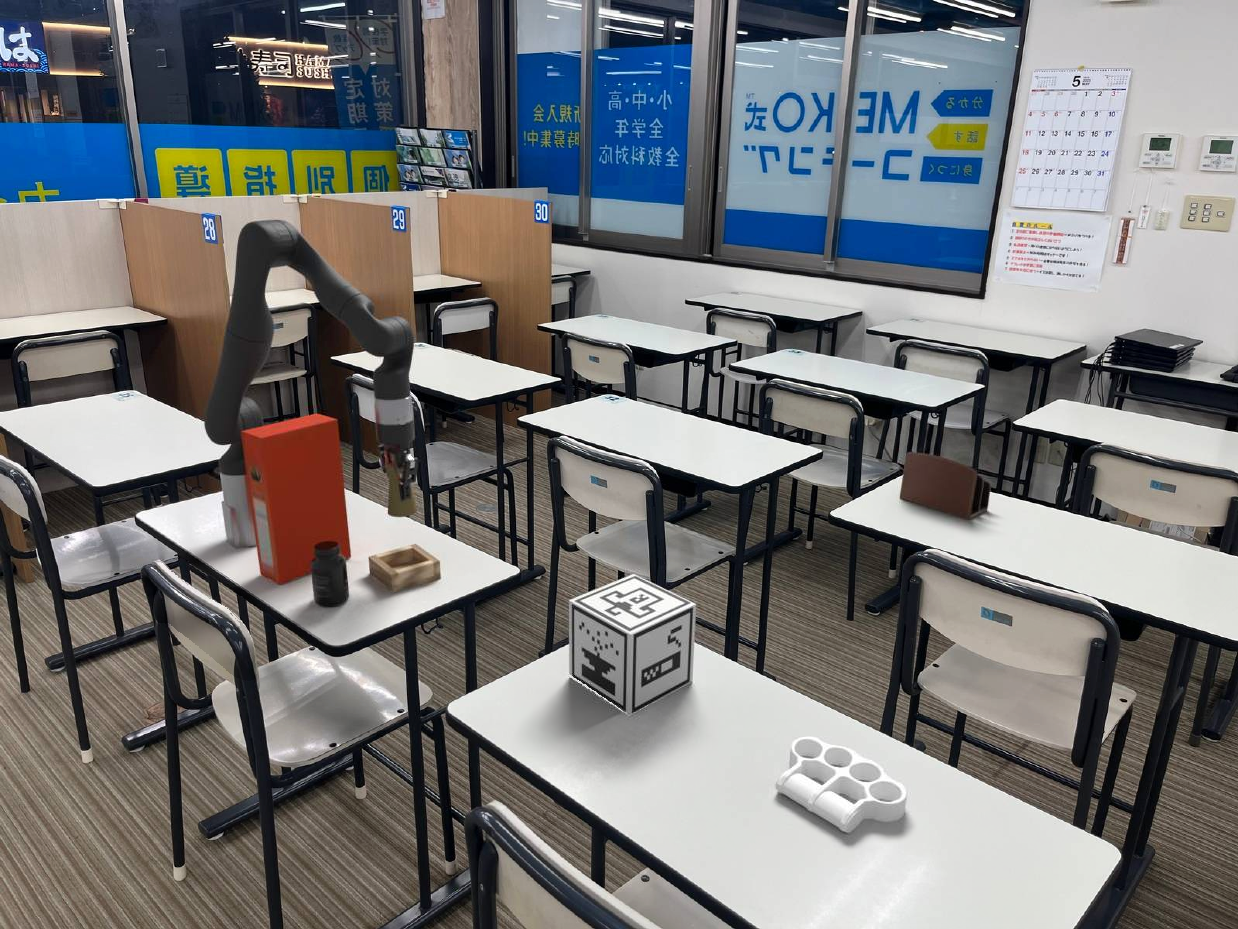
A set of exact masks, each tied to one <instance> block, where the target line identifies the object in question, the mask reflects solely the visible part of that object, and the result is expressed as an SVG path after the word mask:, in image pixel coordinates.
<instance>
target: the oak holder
mask: <svg viewBox="0 0 1238 929" xmlns="http://www.w3.org/2000/svg"><path fill="white" fill-rule="evenodd" d="M367 558H368V568H369V574H370V575H371V576H372V577H373V578H374V579H376V580H377V581H378V582H379V583H380V584H381V585H383V586H384V587H385V588H386V589H387V590H389V591H390V592H391V593H396V592H400V591H403V590H406V589H410V588H412V587H415V586H419V585H422V584H426V583H428V582H432V581H435V580H438V578H439V579H441V578H442V574H441V561H440V560H439V559H438V558H436V557H435V556H434V555H432V554H431V553H430V552H429V551H427V550H425V549H424V548H422V547H421V546H419V545H418V544H417V543H414V544H410V545H406V546H402V547H398V548H396V549H391V550H387V551H384V552H380V553H377V554H373V555H370V556H368V557H367Z"/></svg>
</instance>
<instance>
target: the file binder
mask: <svg viewBox="0 0 1238 929" xmlns="http://www.w3.org/2000/svg"><path fill="white" fill-rule="evenodd" d="M241 436H242V443H243V450H244V458H245V465H246V472H247V480H248V487H249V494H250V502H251V509H252V516H253V524H254V531H255V538H256V545H255V546H256V550H257V560H258V565H259V574H260V576H261V575H262V576H261V577H263V578H266V579H267V580H270V581H271V582H274V584H275V583H276V584H278V585H284V584H285V583H286V584H287V583H289V582H291V581H294V580H297V579H298V578H301V577H305V576H307V575H308V574H311V567H310V564H311V561H312V559H313V558H315V556H314V546H315V545H316V544H318V543H320V542H324V541H335V542H337V543H339V548H340V554H341V555H342V556H344V558H345V559H346V560H349V559H350V558H352V553H351V550H352V549H351V542H350V540H351V539H350V533H349V532H350V531H349V521H348V513H347V512H348V511H347V501H346V491H345V482H344V480H345V479H344V474H343V463H342V461H343V460H342V452H341V450H342V449H341V444H340V443H341V441H340V432H339V422H338V419H337V418H333V417H330V416H327V415H323V414H319V413H313V414H309V415H305V416H304V415H303V416H300V417H297V418H292V419H288V420H284V421H279V422H275V423H271V424H266V425H264V426H262V427H258V428H253V429H249V430H245V431H241Z"/></svg>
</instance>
